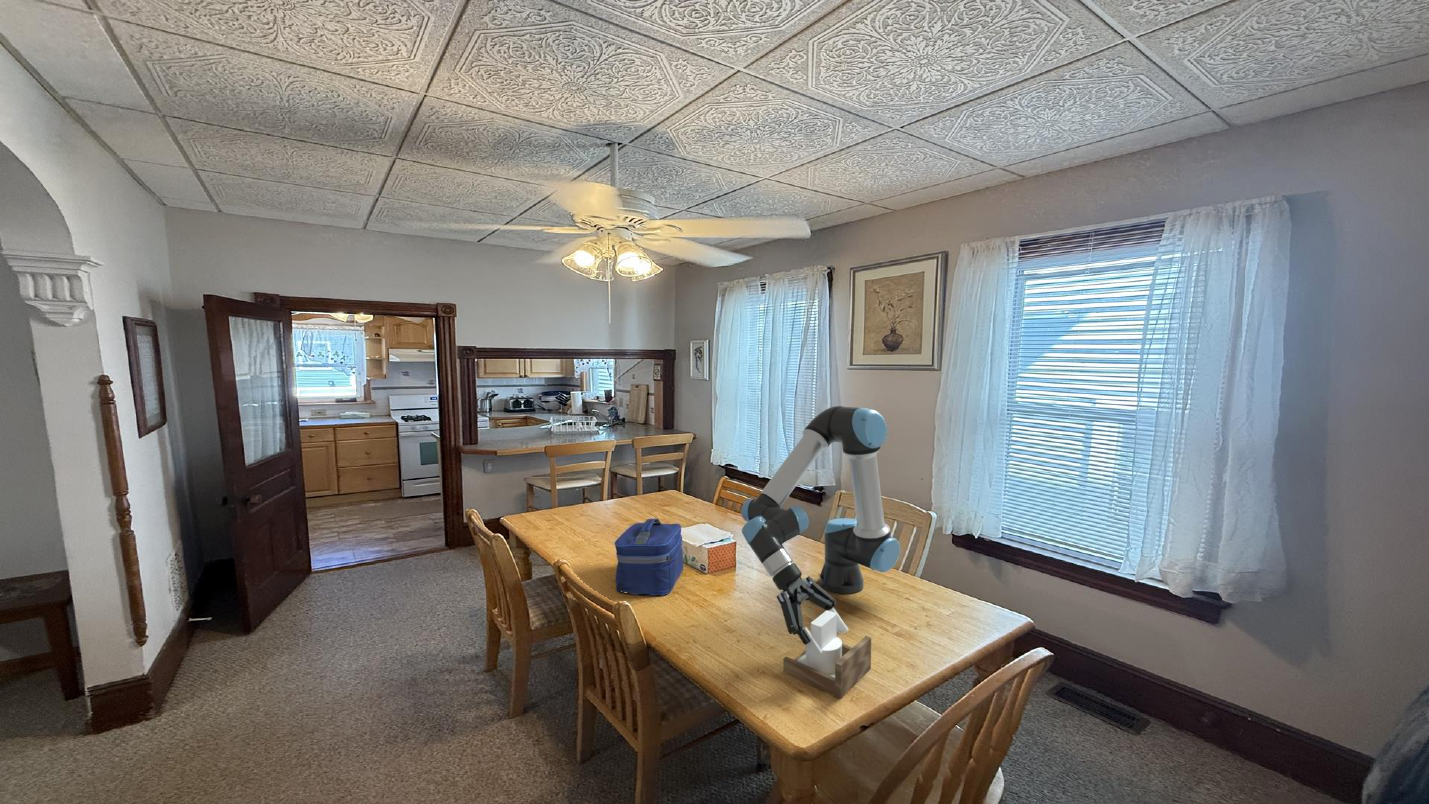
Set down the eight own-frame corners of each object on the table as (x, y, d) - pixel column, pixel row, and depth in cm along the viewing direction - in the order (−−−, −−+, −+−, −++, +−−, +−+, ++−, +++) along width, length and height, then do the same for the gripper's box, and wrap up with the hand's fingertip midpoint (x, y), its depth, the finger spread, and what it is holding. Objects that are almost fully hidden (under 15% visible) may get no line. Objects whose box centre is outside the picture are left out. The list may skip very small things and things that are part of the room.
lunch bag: (635, 561, 207) (634, 510, 206) (687, 563, 205) (687, 512, 203) (610, 595, 177) (609, 536, 175) (671, 598, 174) (670, 538, 173)
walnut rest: (816, 646, 144) (816, 617, 144) (870, 668, 134) (871, 637, 133) (783, 672, 132) (783, 641, 132) (840, 698, 122) (841, 665, 121)
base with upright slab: (816, 649, 140) (816, 606, 139) (847, 661, 134) (848, 616, 133) (799, 665, 133) (799, 619, 132) (831, 678, 127) (832, 631, 126)
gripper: (799, 563, 152) (845, 630, 143) (746, 592, 133) (796, 671, 124) (815, 549, 148) (864, 618, 139) (763, 577, 129) (815, 658, 120)
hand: (832, 643), depth 132 cm, fingers open, 13 cm apart
